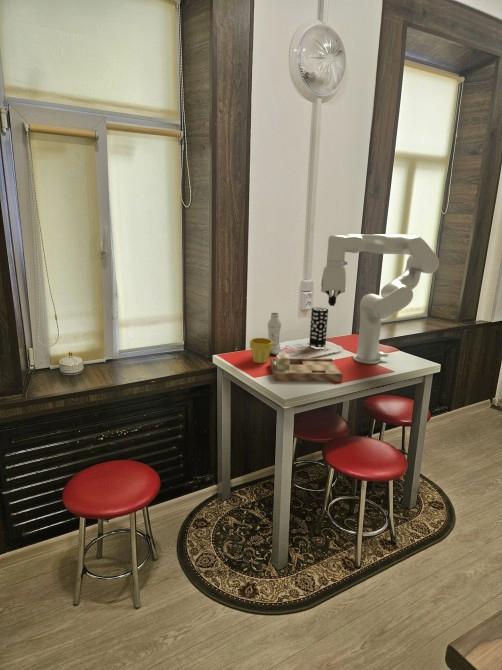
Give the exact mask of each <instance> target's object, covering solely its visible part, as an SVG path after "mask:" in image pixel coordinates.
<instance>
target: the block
mask: <svg viewBox="0 0 502 670" xmlns="http://www.w3.org/2000/svg"><path fill="white" fill-rule="evenodd" d="M275 355H276V357H275V358H276V367H277V369H278V370H287V369H289V367H290V358H291V357H290V355H289V354H275Z"/></svg>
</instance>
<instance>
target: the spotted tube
mask: <svg viewBox="0 0 502 670" xmlns="http://www.w3.org/2000/svg"><path fill="white" fill-rule="evenodd" d="M310 312H311V314H310V325H309V326H310V328H309V342H308V346H309V345H310V346H314V347H325V348H326V346H327V345H326V343H327V340H326V339H327V329H328V319H329V318H328V317H329V309H328V308H327V307H326V308H325V307H312V308H311V311H310Z"/></svg>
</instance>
